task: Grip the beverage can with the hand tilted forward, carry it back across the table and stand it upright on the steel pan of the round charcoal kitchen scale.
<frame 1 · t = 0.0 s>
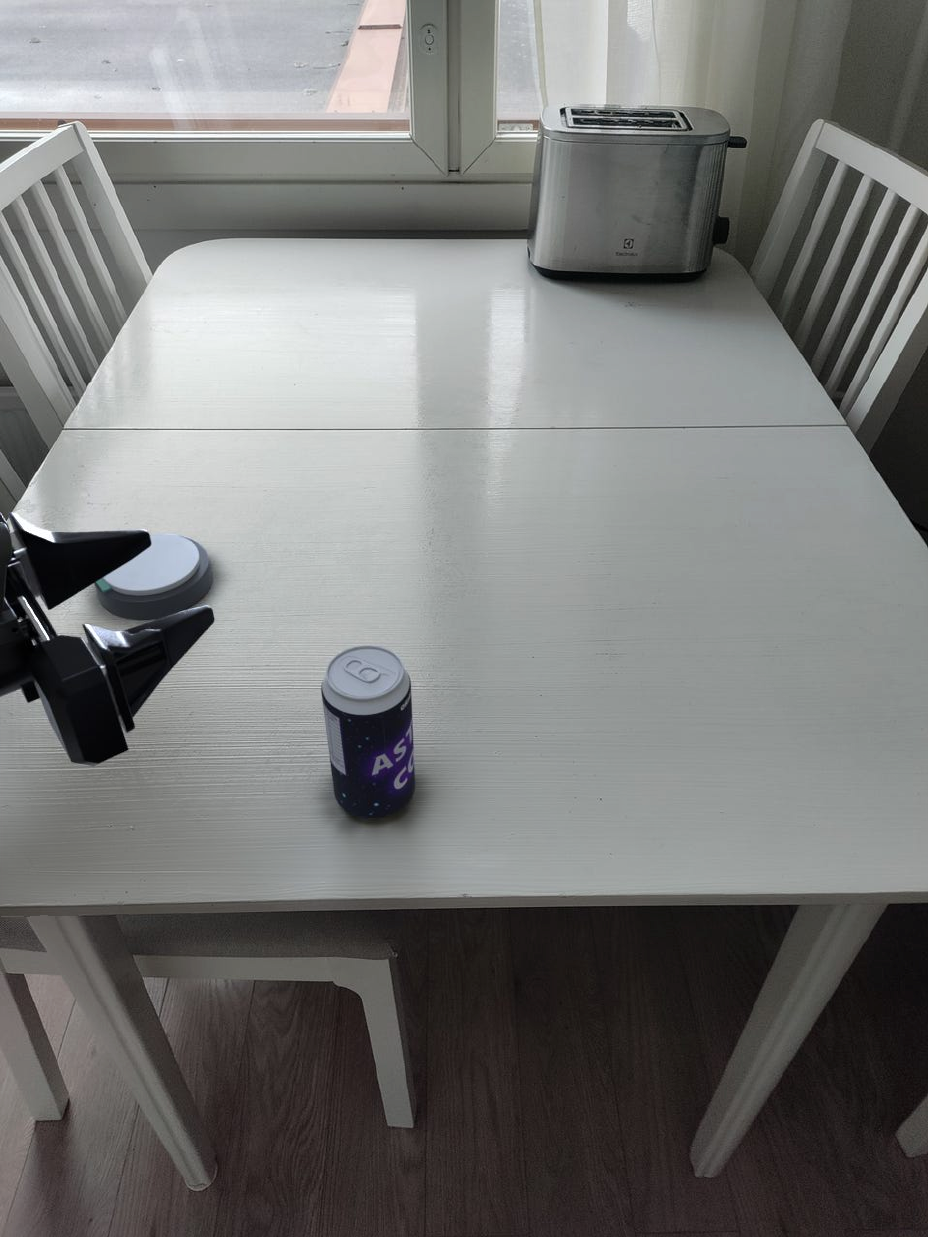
hand: (179, 573, 57), 18 cm above the table, tool horizontal, fingers open, 9 cm apart
kitchen scale: (156, 584, 86), on the table
beverage can: (375, 796, 68), on the table
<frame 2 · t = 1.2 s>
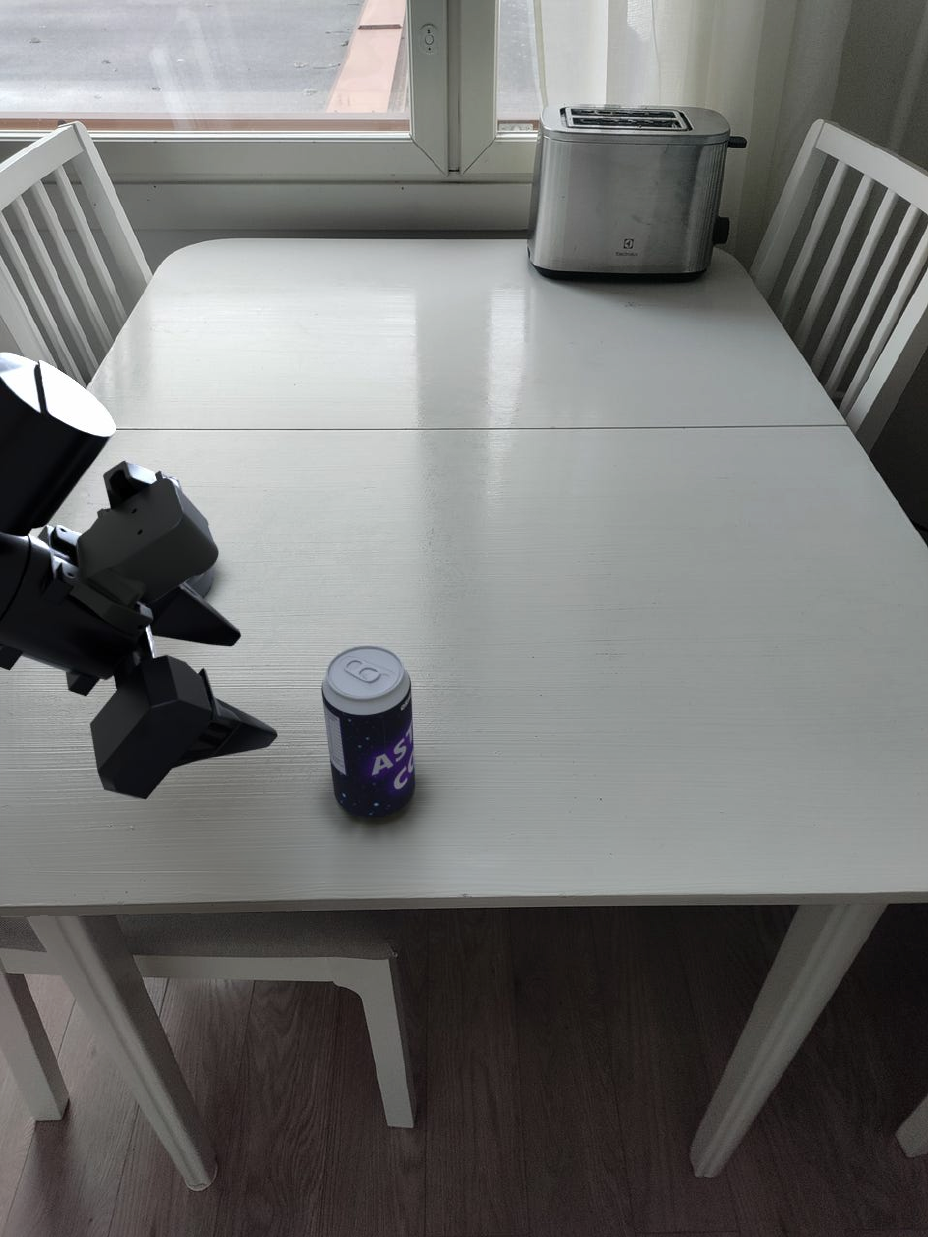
hand: (253, 686, 57), 13 cm above the table, tool tilted 45°, fingers open, 9 cm apart
nothing on the table moved.
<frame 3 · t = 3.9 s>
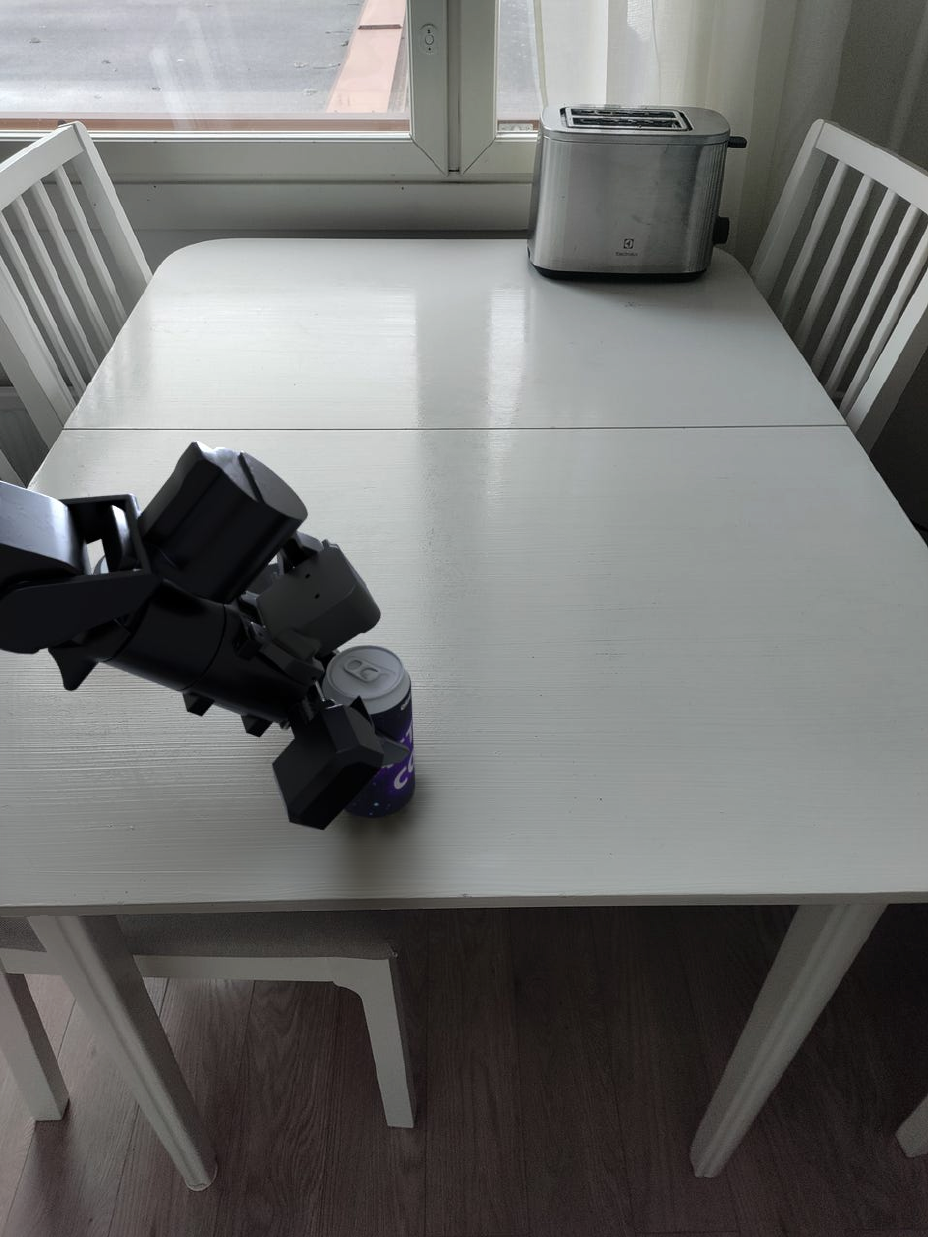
hand: (389, 724, 64), 7 cm above the table, tool tilted 45°, fingers closed on beverage can, 5 cm apart
beverage can: (375, 796, 68), on the table, touching gripper
when the fingers open (9 cm above the table, at t = 11.4 s): beverage can stays where it is, resting on kitchen scale.
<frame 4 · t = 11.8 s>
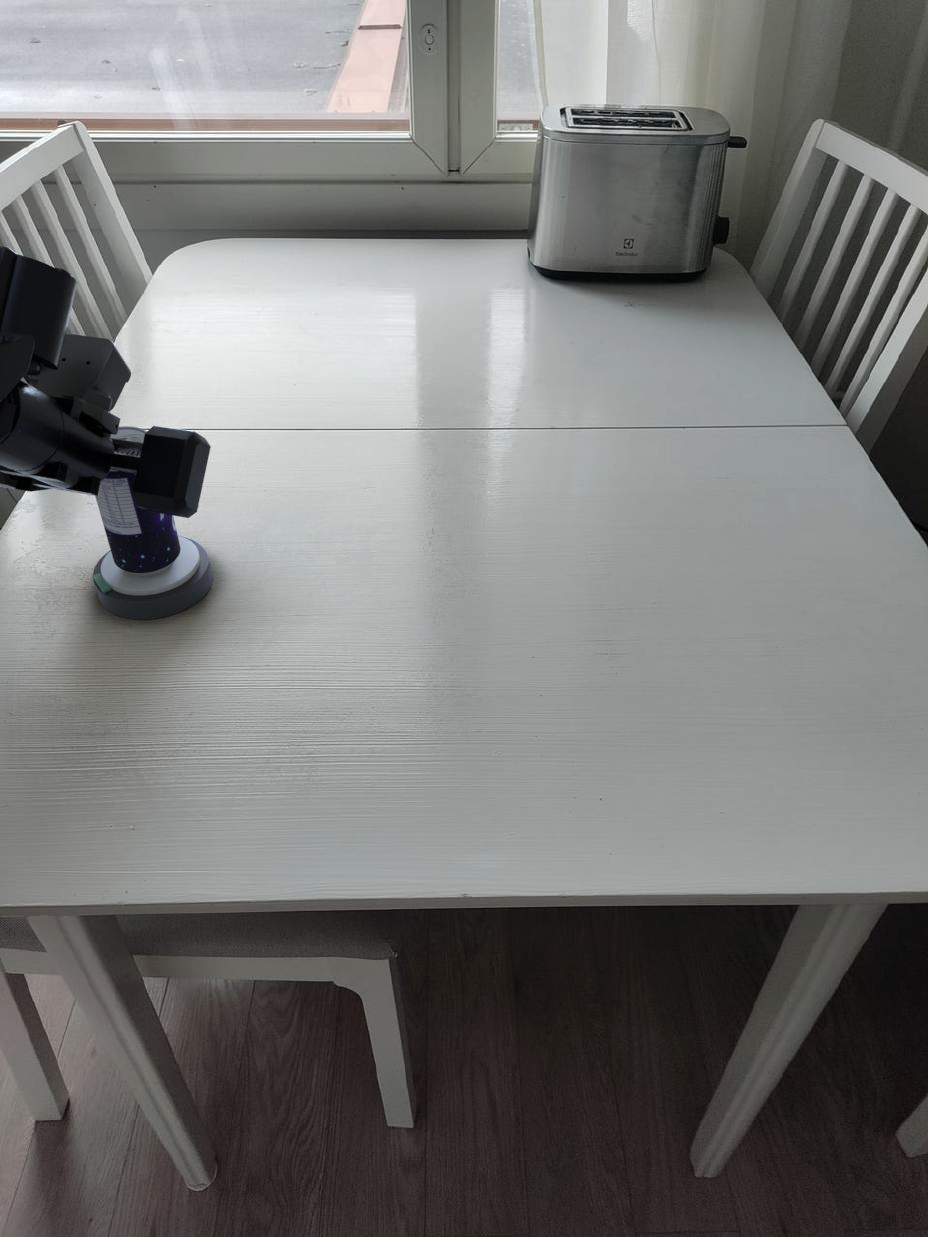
hand: (141, 484, 81), 10 cm above the table, tool tilted 45°, fingers open, 9 cm apart
beverage can: (149, 563, 84), point 2 cm above the table, touching kitchen scale
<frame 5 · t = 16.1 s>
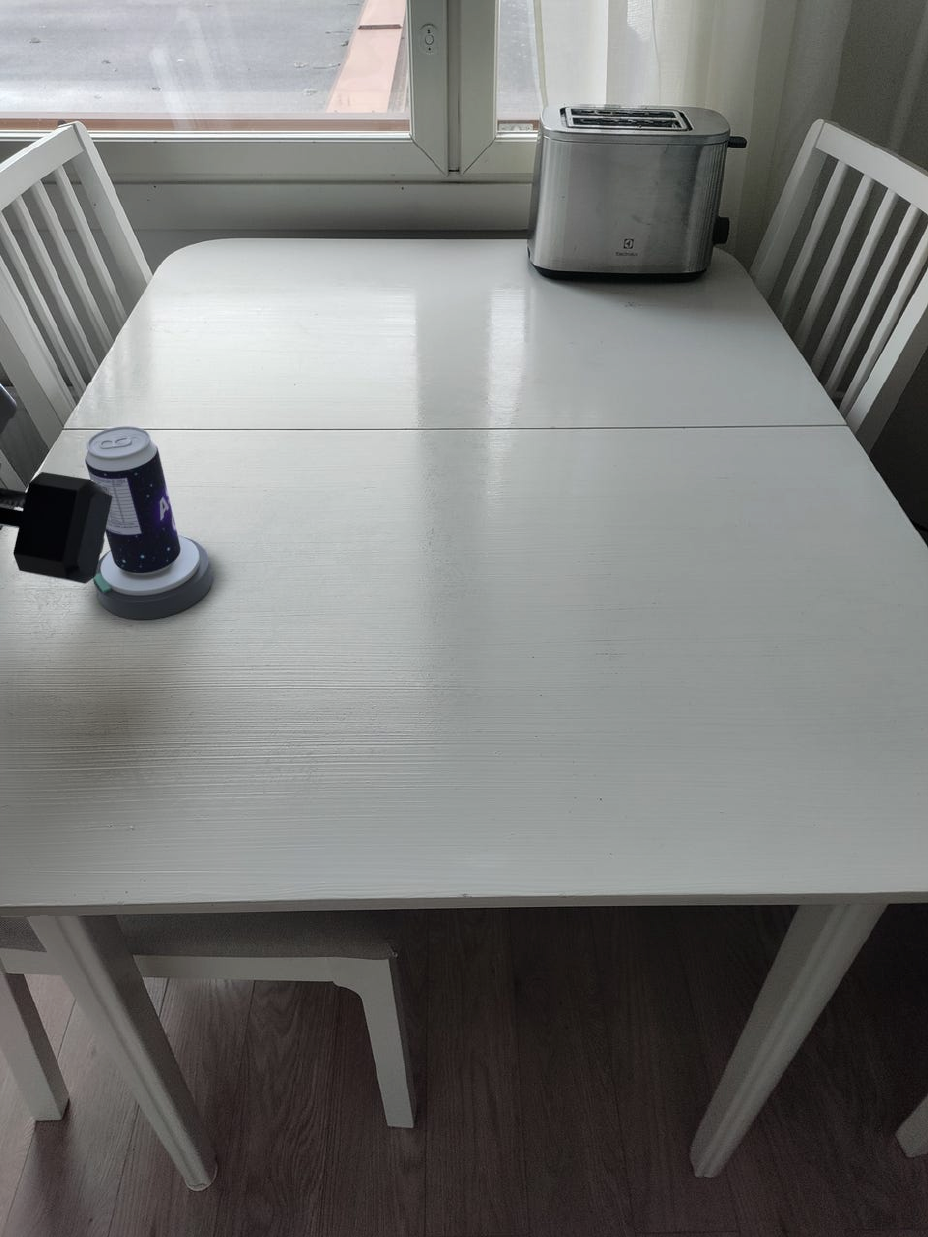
hand: (43, 535, 68), 14 cm above the table, tool tilted 45°, fingers open, 9 cm apart
nothing on the table moved.
at the end: beverage can 0.1 cm off-centre on the kitchen scale, point 2.4 cm above the kitchen scale's base; beverage can tilted 0°; the gripper is holding nothing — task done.
